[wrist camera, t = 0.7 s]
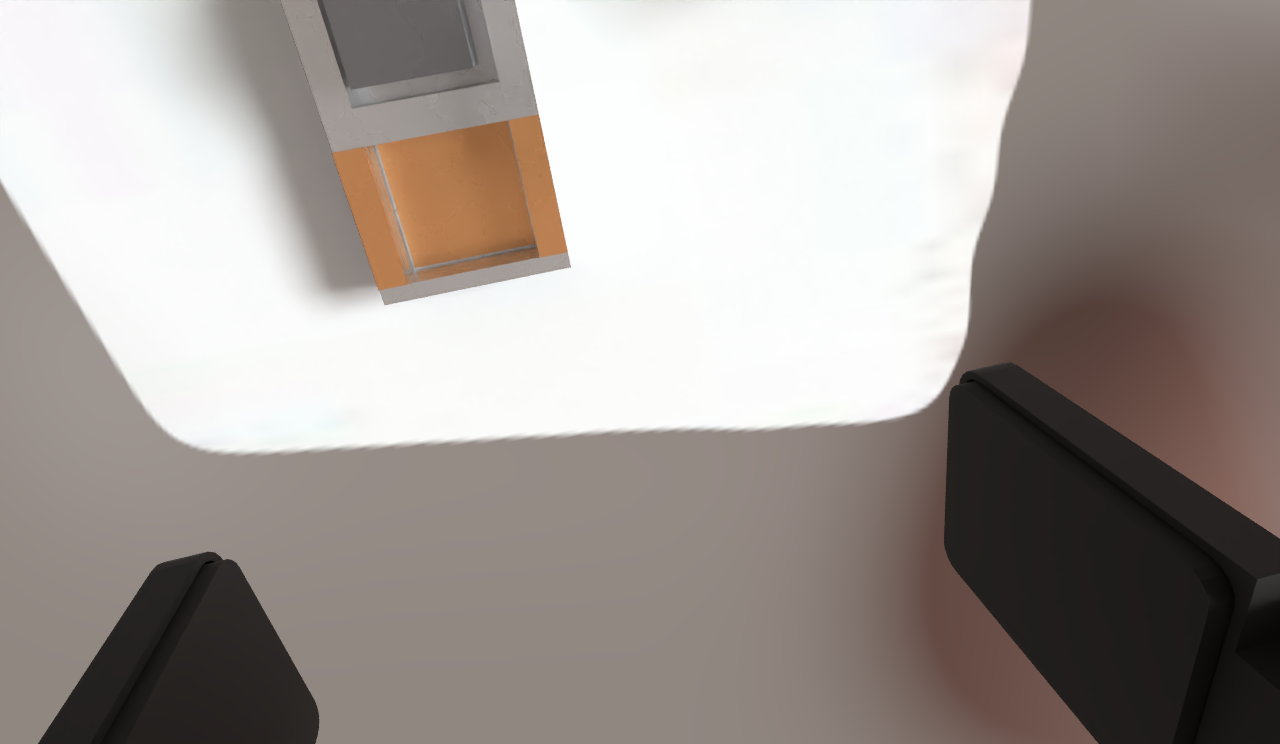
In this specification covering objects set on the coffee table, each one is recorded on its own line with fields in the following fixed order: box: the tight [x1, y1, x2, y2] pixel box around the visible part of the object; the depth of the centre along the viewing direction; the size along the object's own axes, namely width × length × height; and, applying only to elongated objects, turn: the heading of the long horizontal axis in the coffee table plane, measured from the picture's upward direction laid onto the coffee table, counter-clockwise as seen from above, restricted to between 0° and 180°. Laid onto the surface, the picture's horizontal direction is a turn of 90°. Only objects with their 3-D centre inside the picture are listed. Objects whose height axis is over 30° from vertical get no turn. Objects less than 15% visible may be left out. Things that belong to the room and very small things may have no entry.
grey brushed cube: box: [323, 0, 479, 90], centre depth 25 cm, size 4×4×4 cm
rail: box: [280, 0, 571, 305], centre depth 27 cm, size 21×8×3 cm, turn 9°
